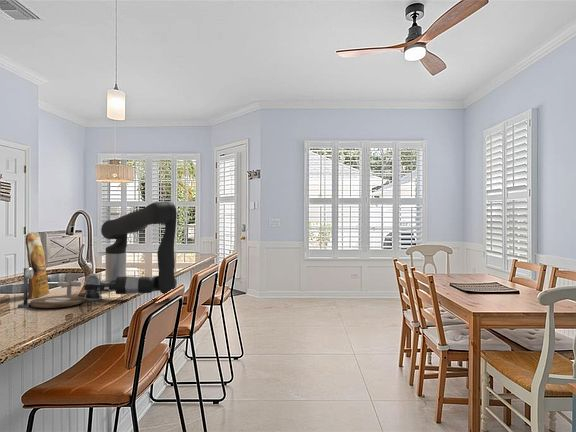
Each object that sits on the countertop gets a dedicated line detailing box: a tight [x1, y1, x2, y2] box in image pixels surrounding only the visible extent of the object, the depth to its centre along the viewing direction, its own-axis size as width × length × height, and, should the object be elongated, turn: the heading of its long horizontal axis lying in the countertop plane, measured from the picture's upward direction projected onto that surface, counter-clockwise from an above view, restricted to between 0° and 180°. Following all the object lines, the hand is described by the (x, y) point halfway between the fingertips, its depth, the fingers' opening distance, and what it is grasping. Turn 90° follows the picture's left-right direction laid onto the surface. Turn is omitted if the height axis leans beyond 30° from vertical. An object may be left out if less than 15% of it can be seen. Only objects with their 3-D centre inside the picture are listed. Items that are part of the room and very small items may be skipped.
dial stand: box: [17, 267, 33, 309], centre depth 175 cm, size 4×4×15 cm
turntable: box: [29, 295, 85, 309], centre depth 179 cm, size 19×19×2 cm
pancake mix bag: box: [25, 232, 50, 299], centre depth 199 cm, size 7×19×28 cm, turn 8°
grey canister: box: [83, 273, 103, 303], centre depth 190 cm, size 7×7×11 cm
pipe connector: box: [57, 272, 82, 296], centre depth 199 cm, size 10×10×10 cm
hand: (86, 285), depth 189 cm, fingers open, 6 cm apart
